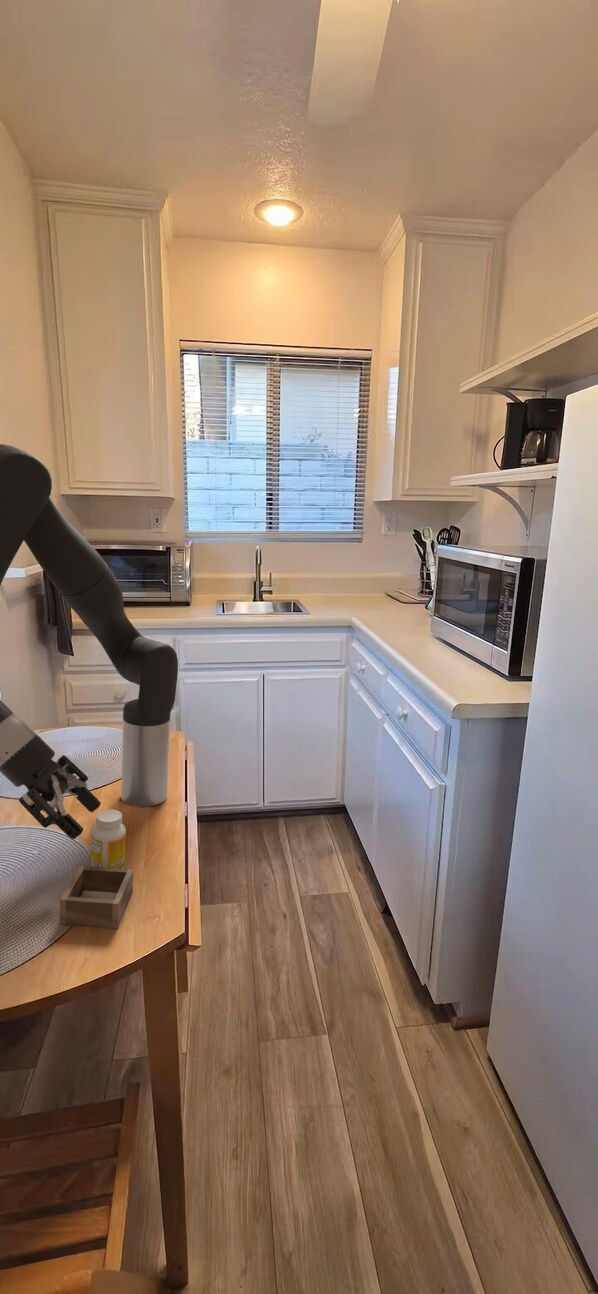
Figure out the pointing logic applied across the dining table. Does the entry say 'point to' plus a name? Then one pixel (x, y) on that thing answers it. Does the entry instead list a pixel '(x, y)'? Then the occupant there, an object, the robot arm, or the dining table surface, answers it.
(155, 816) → the dining table surface
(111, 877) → the holder
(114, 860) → the supplement bottle
